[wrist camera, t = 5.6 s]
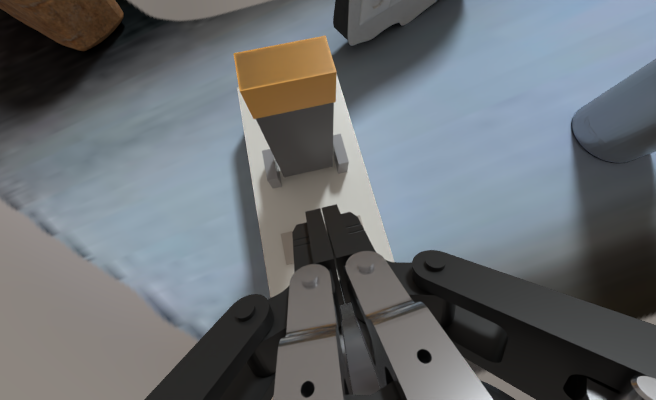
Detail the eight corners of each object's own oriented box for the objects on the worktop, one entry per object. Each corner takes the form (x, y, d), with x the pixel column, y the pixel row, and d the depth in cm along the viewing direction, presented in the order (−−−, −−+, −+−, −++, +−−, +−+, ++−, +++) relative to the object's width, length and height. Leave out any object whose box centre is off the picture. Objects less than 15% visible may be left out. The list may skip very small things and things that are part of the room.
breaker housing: (334, 101, 36) (335, 50, 28) (382, 267, 29) (402, 265, 21) (252, 118, 35) (229, 71, 27) (282, 292, 28) (263, 300, 20)
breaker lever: (328, 149, 26) (325, 35, 14) (333, 171, 26) (336, 71, 13) (280, 159, 26) (233, 53, 14) (285, 181, 25) (239, 91, 13)
